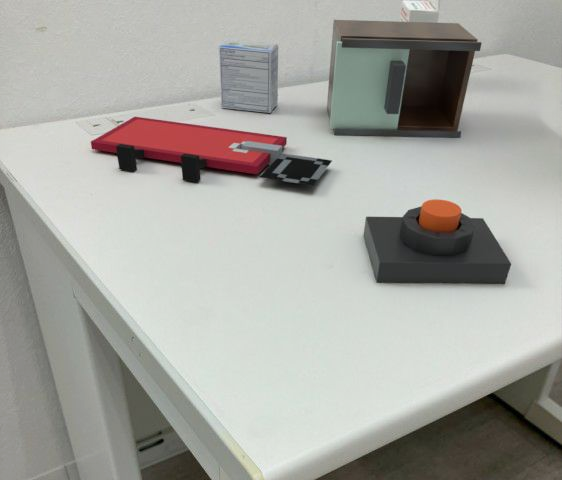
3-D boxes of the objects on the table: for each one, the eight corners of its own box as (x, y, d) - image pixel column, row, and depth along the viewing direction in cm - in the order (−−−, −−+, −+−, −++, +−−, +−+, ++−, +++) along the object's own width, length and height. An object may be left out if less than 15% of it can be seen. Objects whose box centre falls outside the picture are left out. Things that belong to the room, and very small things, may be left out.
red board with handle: (308, 200, 66) (340, 155, 77) (309, 175, 64) (342, 133, 75) (75, 162, 73) (136, 126, 84) (71, 139, 71) (133, 106, 82)
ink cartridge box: (390, 74, 107) (404, -22, 98) (417, 75, 107) (433, -21, 98) (397, 88, 101) (413, -14, 91) (426, 89, 101) (445, -13, 91)
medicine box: (278, 105, 92) (279, 43, 86) (270, 114, 89) (271, 50, 83) (229, 100, 93) (228, 38, 88) (220, 108, 90) (218, 45, 84)
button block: (477, 237, 61) (487, 201, 59) (504, 284, 55) (517, 245, 52) (363, 236, 61) (368, 199, 58) (376, 283, 54) (382, 244, 52)
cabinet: (441, 110, 93) (458, 23, 85) (460, 137, 84) (481, 42, 76) (326, 108, 92) (333, 19, 84) (334, 135, 83) (342, 38, 75)
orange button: (451, 216, 57) (456, 199, 56) (461, 234, 54) (466, 216, 53) (415, 216, 57) (418, 198, 56) (422, 234, 54) (426, 216, 53)
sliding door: (396, 128, 84) (409, 43, 77) (400, 136, 82) (414, 49, 75) (329, 126, 84) (336, 41, 77) (331, 134, 81) (339, 47, 74)
